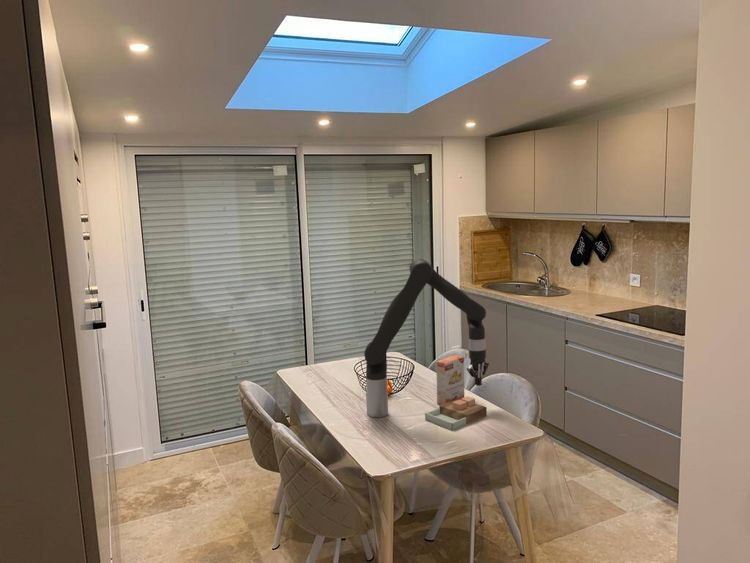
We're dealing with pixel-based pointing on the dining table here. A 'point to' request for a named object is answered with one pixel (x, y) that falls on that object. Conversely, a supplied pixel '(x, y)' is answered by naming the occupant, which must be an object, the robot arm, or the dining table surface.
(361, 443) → the dining table surface
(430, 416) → the tray
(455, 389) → the cracker box
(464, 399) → the tile
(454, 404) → the tile
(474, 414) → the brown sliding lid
